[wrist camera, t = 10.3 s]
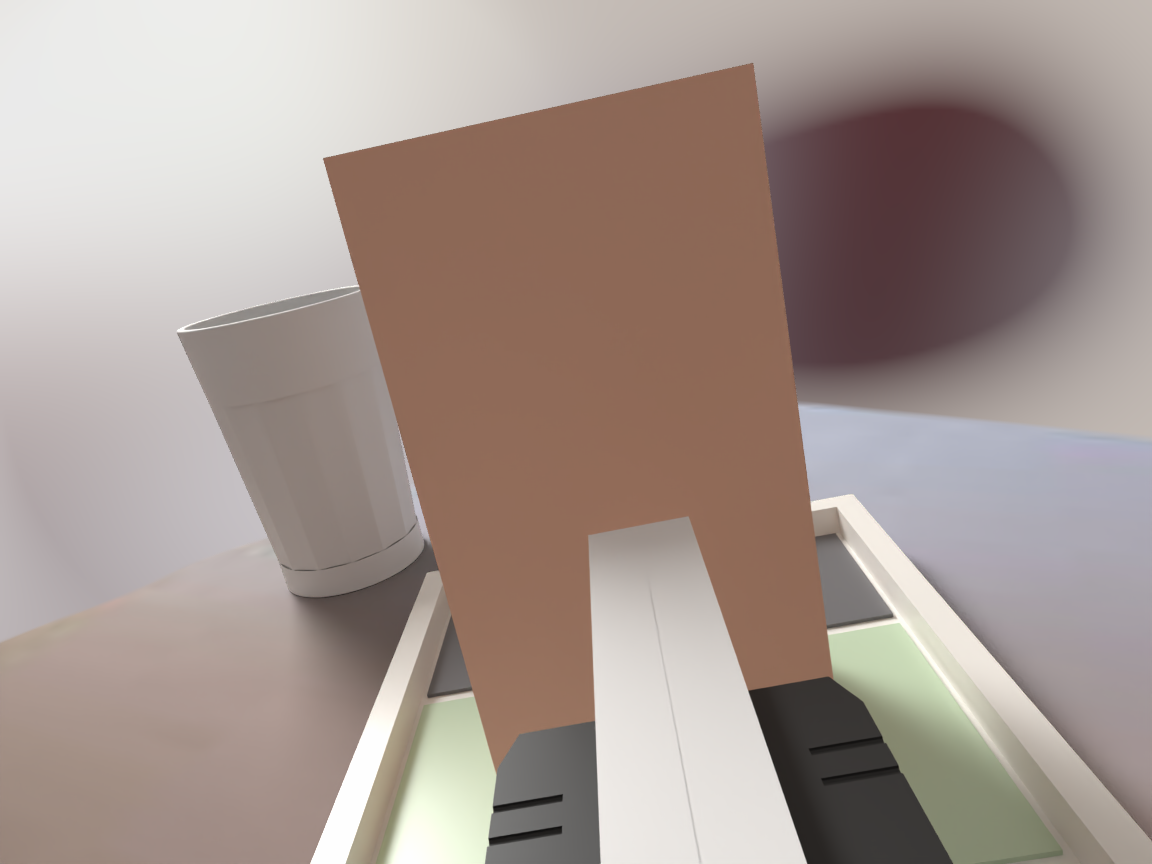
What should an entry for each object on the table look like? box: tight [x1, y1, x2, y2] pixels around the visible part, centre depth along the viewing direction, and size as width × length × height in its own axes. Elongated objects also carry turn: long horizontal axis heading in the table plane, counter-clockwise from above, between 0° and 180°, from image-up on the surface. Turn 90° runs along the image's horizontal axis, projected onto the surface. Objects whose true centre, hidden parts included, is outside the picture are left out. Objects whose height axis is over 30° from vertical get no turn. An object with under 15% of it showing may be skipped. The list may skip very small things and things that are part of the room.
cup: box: [177, 285, 424, 597], centre depth 36 cm, size 8×8×12 cm
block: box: [323, 63, 834, 775], centre depth 18 cm, size 7×6×14 cm
